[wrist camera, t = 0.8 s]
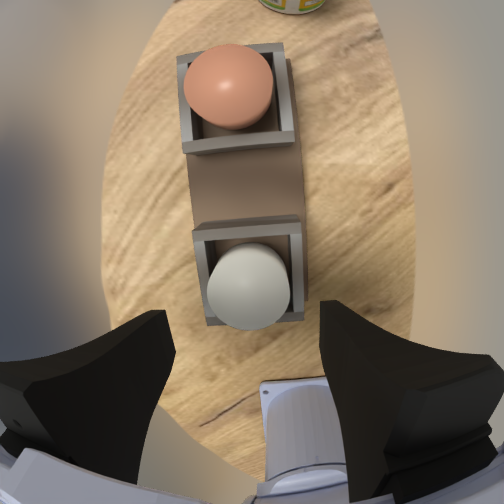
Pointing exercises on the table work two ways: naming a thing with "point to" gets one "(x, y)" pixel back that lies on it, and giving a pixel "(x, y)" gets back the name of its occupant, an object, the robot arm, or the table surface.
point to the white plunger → (249, 287)
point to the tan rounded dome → (229, 86)
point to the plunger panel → (248, 183)
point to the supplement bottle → (293, 5)
